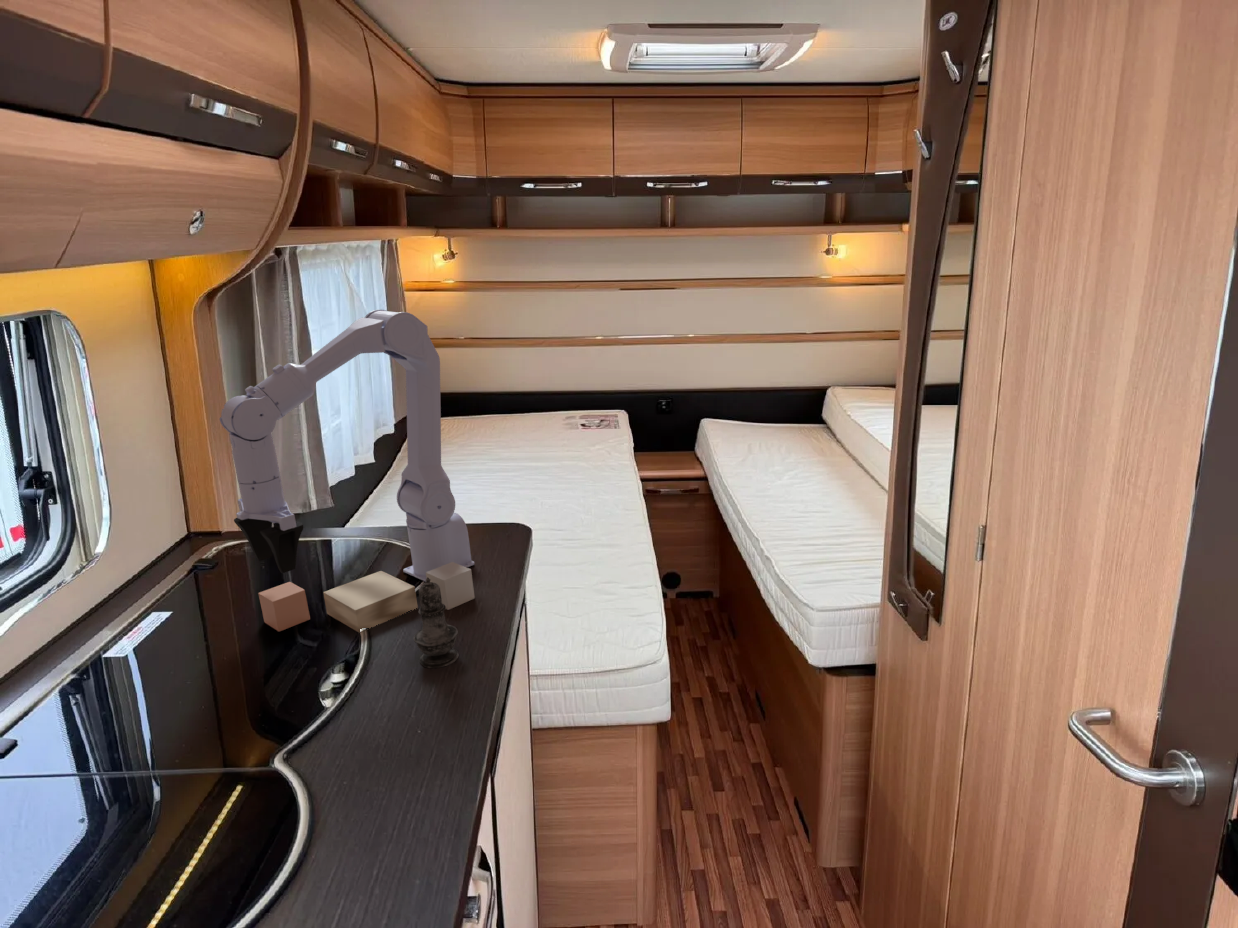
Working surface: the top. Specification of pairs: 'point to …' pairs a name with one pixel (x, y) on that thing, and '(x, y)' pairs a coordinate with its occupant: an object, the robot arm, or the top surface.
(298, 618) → the terracotta cube
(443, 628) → the dark tall tiered piece
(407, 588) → the birch block
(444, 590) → the grey cube
